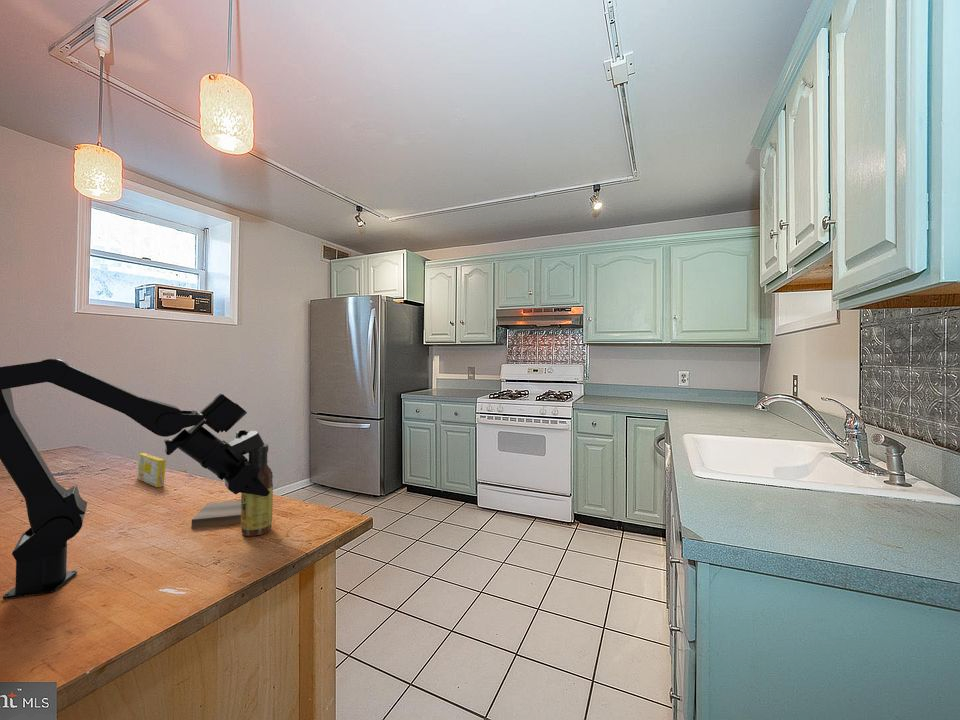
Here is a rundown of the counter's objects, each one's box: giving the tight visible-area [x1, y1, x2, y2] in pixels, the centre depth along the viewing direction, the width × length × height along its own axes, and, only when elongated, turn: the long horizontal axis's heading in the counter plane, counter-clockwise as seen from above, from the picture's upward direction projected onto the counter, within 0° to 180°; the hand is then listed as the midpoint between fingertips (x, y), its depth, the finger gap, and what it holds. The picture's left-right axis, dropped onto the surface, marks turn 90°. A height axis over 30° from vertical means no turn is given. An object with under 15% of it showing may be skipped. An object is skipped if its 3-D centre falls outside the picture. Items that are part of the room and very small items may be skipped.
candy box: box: [136, 452, 166, 488], centre depth 122 cm, size 16×2×8 cm, turn 58°
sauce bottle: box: [240, 443, 274, 537], centre depth 89 cm, size 7×6×20 cm
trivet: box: [191, 499, 241, 529], centre depth 97 cm, size 11×11×2 cm
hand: (264, 490), depth 90 cm, fingers closed on sauce bottle, 6 cm apart
